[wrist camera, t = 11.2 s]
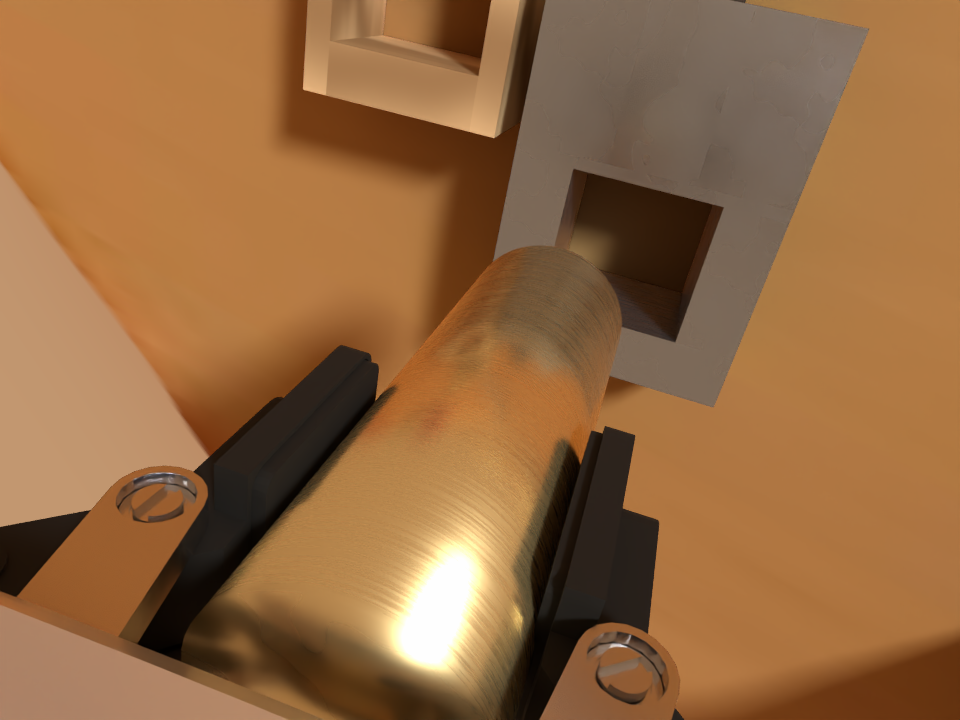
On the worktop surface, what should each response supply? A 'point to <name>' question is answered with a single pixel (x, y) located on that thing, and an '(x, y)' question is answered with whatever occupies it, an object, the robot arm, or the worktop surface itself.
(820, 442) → the worktop surface
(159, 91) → the worktop surface
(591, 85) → the socket block
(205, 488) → the robot arm
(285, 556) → the gold cylinder
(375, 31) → the rack
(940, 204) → the worktop surface
